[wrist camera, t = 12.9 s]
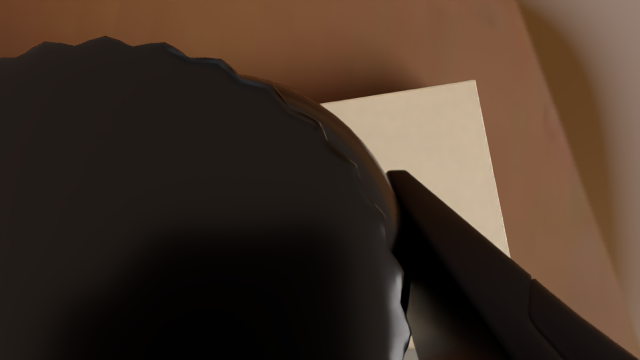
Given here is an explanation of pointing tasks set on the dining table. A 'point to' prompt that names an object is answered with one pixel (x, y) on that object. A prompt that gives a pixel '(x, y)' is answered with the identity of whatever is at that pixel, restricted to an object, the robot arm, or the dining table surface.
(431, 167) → the cream bevelled block
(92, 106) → the supplement bottle
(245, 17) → the dining table surface
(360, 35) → the dining table surface
